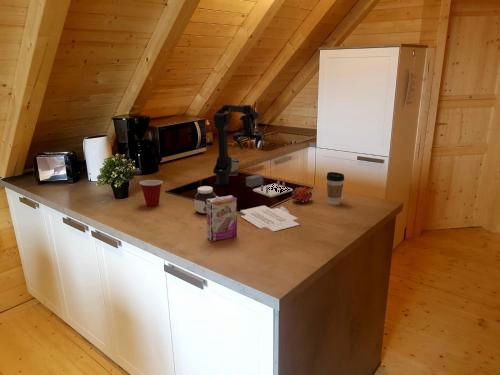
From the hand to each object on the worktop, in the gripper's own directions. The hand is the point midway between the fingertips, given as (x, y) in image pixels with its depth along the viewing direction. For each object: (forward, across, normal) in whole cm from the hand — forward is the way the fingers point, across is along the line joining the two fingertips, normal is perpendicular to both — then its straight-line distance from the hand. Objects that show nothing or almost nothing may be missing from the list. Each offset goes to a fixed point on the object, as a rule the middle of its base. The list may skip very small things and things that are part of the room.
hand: (249, 149), depth 247 cm
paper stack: (+4, -33, +72) cm, 80 cm away
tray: (+10, -24, +35) cm, 43 cm away
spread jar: (+3, -4, +72) cm, 72 cm away
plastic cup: (+1, +26, +73) cm, 78 cm away
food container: (+13, +10, +11) cm, 19 cm away
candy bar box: (-1, -21, +98) cm, 100 cm away
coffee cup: (+9, -58, +45) cm, 74 cm away
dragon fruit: (+8, -42, +47) cm, 64 cm away
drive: (+11, -11, +27) cm, 31 cm away
